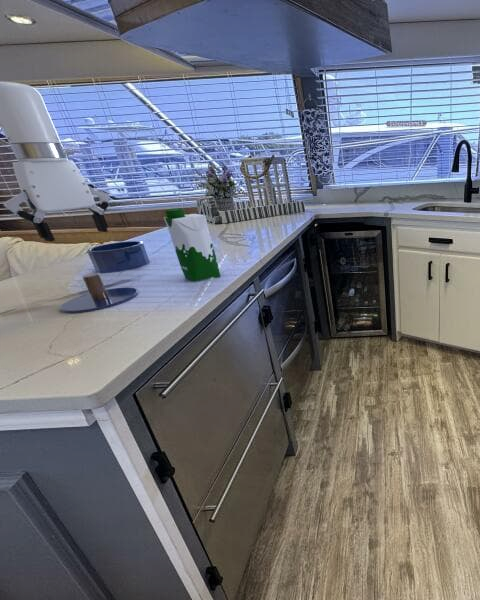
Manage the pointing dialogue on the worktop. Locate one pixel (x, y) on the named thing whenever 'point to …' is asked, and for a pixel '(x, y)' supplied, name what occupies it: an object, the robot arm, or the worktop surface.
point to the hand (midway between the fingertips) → (78, 235)
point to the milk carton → (192, 244)
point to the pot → (118, 256)
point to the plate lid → (97, 296)
